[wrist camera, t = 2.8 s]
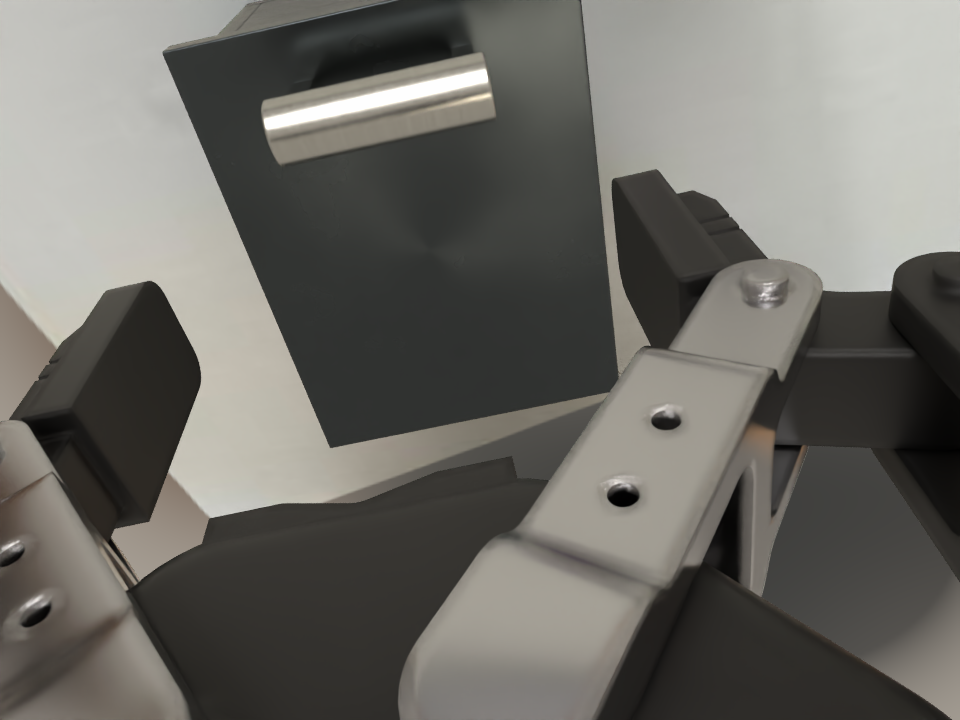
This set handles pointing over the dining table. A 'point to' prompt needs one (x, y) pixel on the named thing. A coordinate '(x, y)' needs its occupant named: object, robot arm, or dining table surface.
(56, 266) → the dining table surface
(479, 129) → the bin lid
